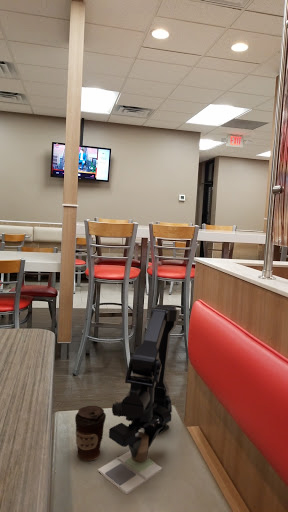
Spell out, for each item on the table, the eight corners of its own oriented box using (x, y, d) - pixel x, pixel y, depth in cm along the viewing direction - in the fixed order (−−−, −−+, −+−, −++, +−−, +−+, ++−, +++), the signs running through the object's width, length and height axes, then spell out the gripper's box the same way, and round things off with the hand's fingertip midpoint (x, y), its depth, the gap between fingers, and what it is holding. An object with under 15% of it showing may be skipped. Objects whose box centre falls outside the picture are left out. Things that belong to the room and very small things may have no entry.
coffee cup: (98, 467, 102) (99, 422, 101) (68, 461, 104) (70, 417, 102) (107, 447, 111) (109, 405, 109) (80, 442, 112) (81, 401, 111)
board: (133, 450, 110) (133, 447, 110) (161, 469, 103) (161, 466, 102) (97, 471, 101) (98, 467, 101) (126, 494, 93) (126, 490, 93)
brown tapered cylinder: (150, 457, 104) (152, 437, 103) (139, 464, 101) (140, 443, 100) (139, 449, 107) (140, 430, 106) (128, 456, 104) (129, 436, 103)
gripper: (145, 378, 114) (142, 427, 116) (96, 398, 101) (94, 453, 103) (174, 392, 106) (170, 444, 108) (125, 416, 93) (122, 475, 95)
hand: (140, 453), depth 104 cm, fingers closed on brown tapered cylinder, 4 cm apart
